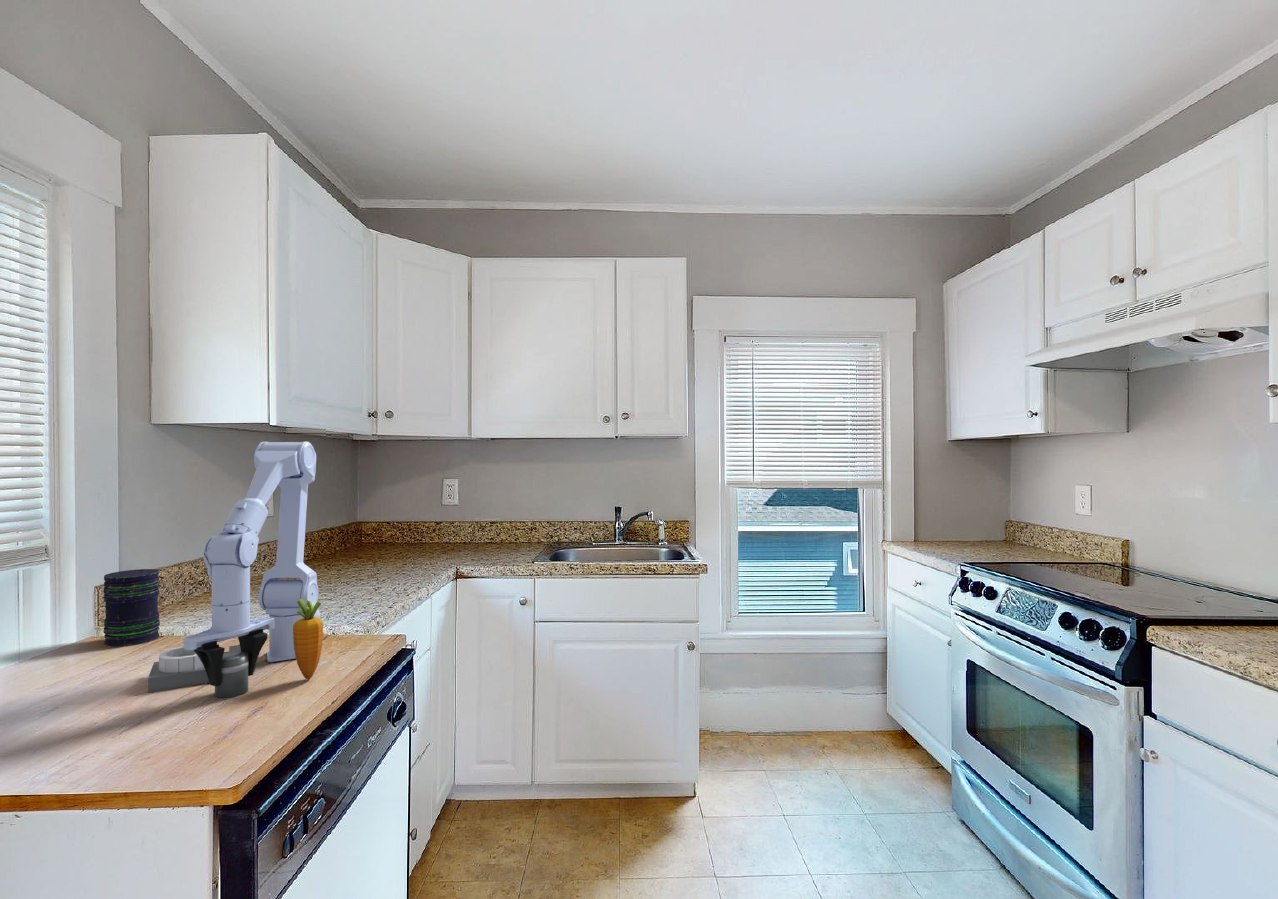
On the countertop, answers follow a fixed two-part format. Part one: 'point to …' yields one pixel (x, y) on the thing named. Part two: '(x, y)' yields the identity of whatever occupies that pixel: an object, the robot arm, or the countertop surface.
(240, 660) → the lens
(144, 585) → the storage jar
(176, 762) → the countertop surface
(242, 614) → the robot arm
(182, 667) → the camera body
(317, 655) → the carrot
